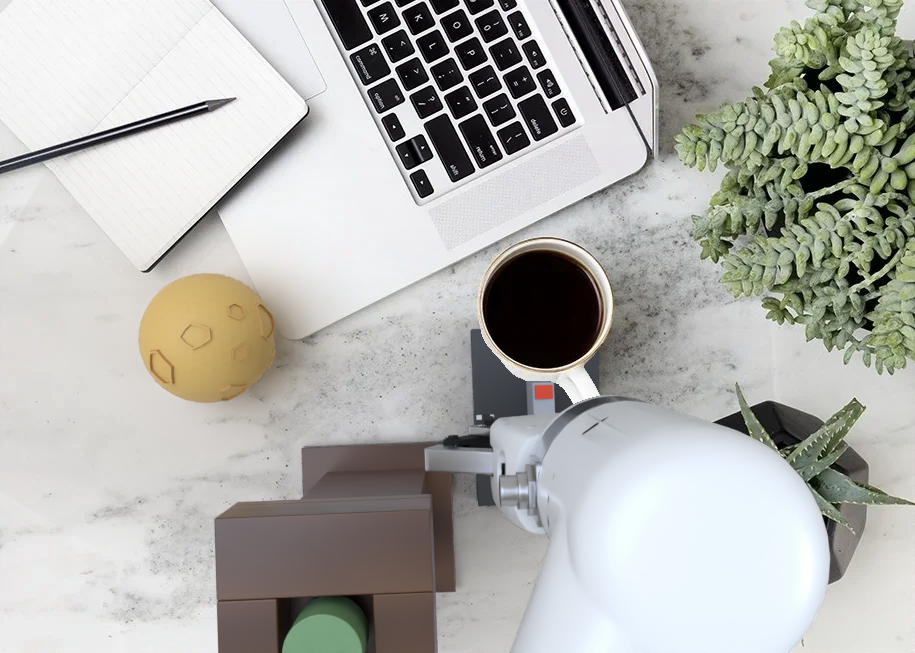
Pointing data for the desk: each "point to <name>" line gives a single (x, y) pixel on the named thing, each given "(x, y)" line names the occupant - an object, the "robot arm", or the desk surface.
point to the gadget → (505, 396)
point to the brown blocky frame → (326, 569)
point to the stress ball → (207, 338)
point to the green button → (328, 628)
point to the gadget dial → (540, 397)
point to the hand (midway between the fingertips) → (561, 435)
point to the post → (386, 486)
